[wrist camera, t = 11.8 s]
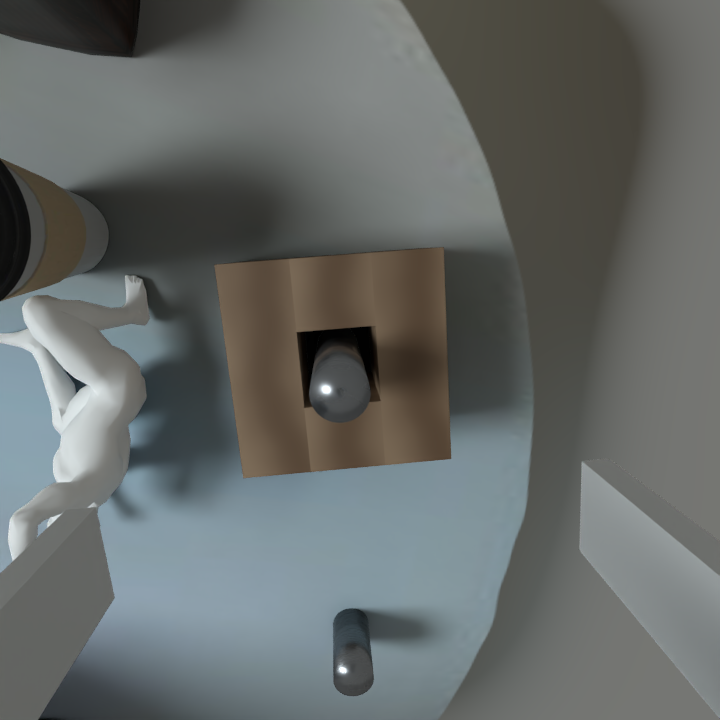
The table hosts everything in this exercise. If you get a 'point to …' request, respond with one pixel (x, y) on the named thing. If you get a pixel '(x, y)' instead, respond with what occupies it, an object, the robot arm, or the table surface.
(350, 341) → the long pin
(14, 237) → the coffee cup
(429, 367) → the pin block
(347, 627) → the short pin
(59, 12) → the manual coffee grinder
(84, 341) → the person figurine
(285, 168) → the table surface
